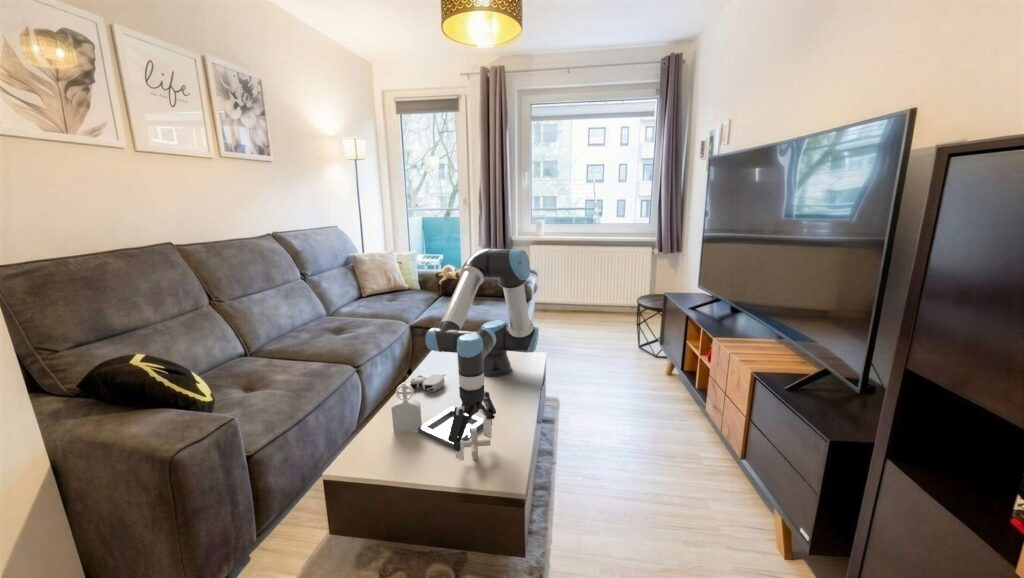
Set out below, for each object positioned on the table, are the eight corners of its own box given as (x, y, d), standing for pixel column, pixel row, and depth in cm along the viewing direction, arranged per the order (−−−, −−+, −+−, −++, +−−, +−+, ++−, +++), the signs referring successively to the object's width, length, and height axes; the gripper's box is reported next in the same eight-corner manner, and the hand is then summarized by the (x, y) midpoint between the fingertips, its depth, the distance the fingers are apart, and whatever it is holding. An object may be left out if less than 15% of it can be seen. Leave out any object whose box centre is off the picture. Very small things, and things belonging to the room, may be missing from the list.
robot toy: (405, 394, 171) (437, 395, 168) (403, 384, 170) (436, 385, 167) (417, 381, 183) (448, 382, 179) (416, 372, 182) (447, 372, 178)
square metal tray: (451, 411, 156) (451, 406, 155) (486, 424, 146) (486, 419, 146) (418, 432, 142) (417, 427, 142) (454, 449, 133) (453, 444, 132)
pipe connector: (460, 449, 133) (458, 421, 131) (490, 446, 134) (489, 419, 131) (458, 469, 123) (456, 440, 121) (491, 466, 124) (490, 438, 122)
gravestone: (395, 427, 146) (391, 381, 141) (421, 426, 146) (418, 380, 142) (393, 432, 143) (389, 385, 139) (420, 431, 143) (416, 384, 139)
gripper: (487, 367, 134) (489, 425, 139) (432, 398, 115) (437, 464, 119) (505, 373, 130) (507, 431, 135) (452, 406, 110) (456, 473, 115)
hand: (474, 447), depth 127 cm, fingers open, 13 cm apart
